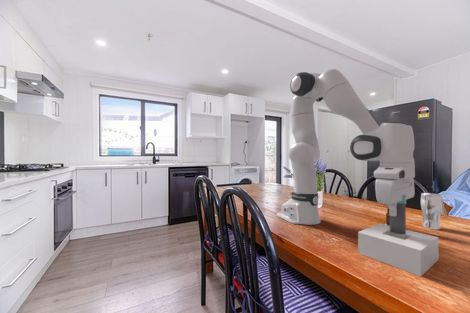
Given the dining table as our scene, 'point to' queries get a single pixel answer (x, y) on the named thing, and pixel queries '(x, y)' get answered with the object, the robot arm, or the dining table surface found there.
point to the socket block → (399, 248)
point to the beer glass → (431, 210)
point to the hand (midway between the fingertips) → (397, 214)
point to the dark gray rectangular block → (399, 218)
